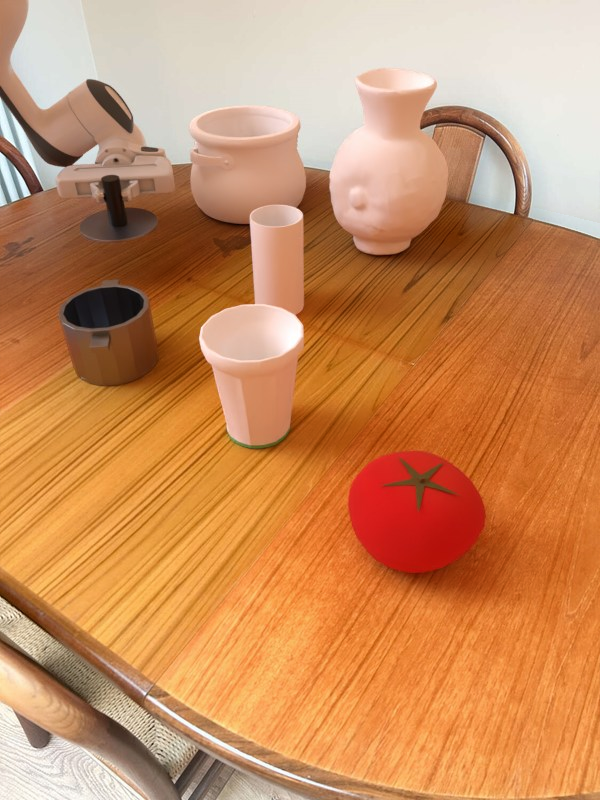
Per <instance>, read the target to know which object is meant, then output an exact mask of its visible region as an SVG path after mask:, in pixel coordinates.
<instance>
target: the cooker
mask: <svg viewBox="0 0 600 800" xmlns="http://www.w3.org/2000/svg"><path fill="white" fill-rule="evenodd" d="M57 316H58V319H59V323H60V326H61V330H62V334H63V336H64V340H65V343H66V346H67V350H68V353H69V357H70V361H71V363H72V364H71V365H72V367H73V369H74V371H75V374H76V375H77V377H78V378H79V379H81V380H82V381H83V382H86V383H88V384H91V385H94V386H101V387H111V386H112V387H115V386H121V385H126V384H128V383H132V382H135V381H137V380H139V379H141V378H143V377H144V376H146V375H148V374H149V373H150V372H151V371H152V370H153V369H154V368H155V366H156V365H157V363H158V360H159V346H158V341H157V336H156V330H155V324H154V320H153V315H152V308H151V303H150V298H149V297H148V296H147V294H146V293H145V292H144V291H143V290H141V289H139V288H136V287H134V286H132V285H126V284H121V283H120V279H106V280H102V284H101V285H97V286H93V287H89V288H85V289H82V290H80V291H78V292H77V293H74V294H73V295H71V296H69V297H68V298H67V299H66V300H65V301H64V302H62V304H61V305H60V307H59V310H58V314H57Z"/></svg>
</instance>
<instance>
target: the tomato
mask: <svg viewBox="0 0 600 800" xmlns="http://www.w3.org/2000/svg"><path fill="white" fill-rule="evenodd" d="M347 501H348V502H347V508H348V514H349V518H350V522H351V526H352V529H353V532H354V534H355V536H356V538H357V540H358V542H359V543H360V545H362V547H363V548H364V550H365V551H366V552H367V553H368V554H369V555H370V556H371V557H372V558H373V559H374V560H375V561H377V562H378V563H380V564H382V565H383V566H385V567H387V568H389V569H391V570H392V569H393V570H395V571H399V572H403V573H409V574H420V573H421V574H422V573H427V572H432V571H437V570H440V569H442V568H445V567H447V566H448V565H450V564H453V563H454V562H456V561H458V560H459V559H460V558H462V557H463V556H464V555H465V554H466V553H467V552H469V551H470V550H471V549H472V548H473V546H474V545H475V544H476V543H477V541H478V540H479V538H480V536H481V534H482V533H483V530H484V528H485V527H486V526H485V525H486V519H487V514H486V508H485V507H486V506H485V503H484V501H483V497H482V495H481V494H480V492H479V491H478V488H477V487H476V486H475V483H473V481H472V480H471V479H470V478H469V477H468V476H467V475H466V474H465V473H464V472H463V471H462V470H461V469H460V468H458V467H457V466H456V465H454V464H453V463H452V462H450V461H449V460H447V459H445V458H443V457H441V456H440V455H437V454H434V453H431V452H428V451H423V450H404V451H403V450H402V451H396V452H391V453H387V454H383V455H381V456H379V457H375V458H374V459H373V460H372V461H370V462H369V463H367V465H365V466H364V467H363V469H361V470H360V472H359V473H358V474H357V475H356V476H355V478H354V480H353V481H352V482H351V485H350V488H349V491H348V498H347Z"/></svg>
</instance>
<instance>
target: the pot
mask: <svg viewBox="0 0 600 800" xmlns="http://www.w3.org/2000/svg"><path fill="white" fill-rule="evenodd" d="M188 130H189V134H190V136H191V138H192V139H193V140H194V146H193V148H192V149H190V151H189V152H190V163H192V165H191V170H190V181H189V185H190V189H191V194H192V198H193V199H194V201H195V203H196V205H197V207H198V208H200V210H201V211H202V212H203V213H204V214H205V215H206V216H208V217H210V218H212V219H214V220H217V221H220V222H224V223H230V224H236V225H237V224H239V225H250V214H251V213H252V212H253V211H254V210H256V209H257V208H260V207H263V206H268V205H287V206H292V207H295V208H297V209H298V207H299V205H300V204H301V203H302V201H303V198H304V195H305V192H306V188H307V176H306V170H305V166H304V163H303V160H302V157H301V155H300V153H299V151H298V139H299V132H300V130H301V120H300V118H299V117H298V116H297V115H296V114H295V113H293V112H291V111H289V110H286V109H283V108H279V107H275V106H268V105H250V104H249V105H233V106H225V107H219V108H213V109H211V110H208V111H204V112H202V113H200V114H198V115H196V116H194V117H193V118H192V119H191V120H190V123H189V126H188Z"/></svg>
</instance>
